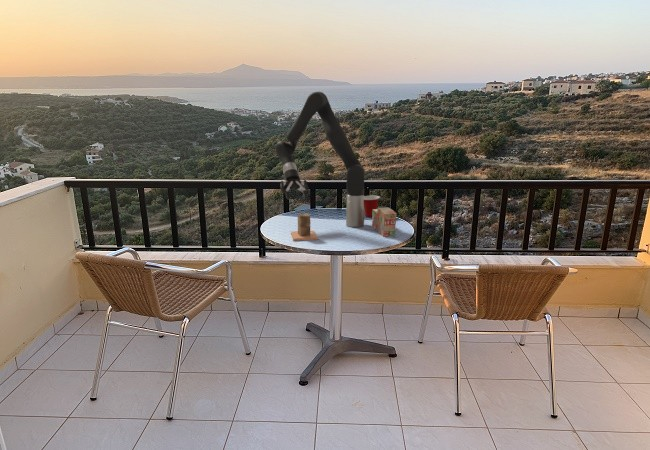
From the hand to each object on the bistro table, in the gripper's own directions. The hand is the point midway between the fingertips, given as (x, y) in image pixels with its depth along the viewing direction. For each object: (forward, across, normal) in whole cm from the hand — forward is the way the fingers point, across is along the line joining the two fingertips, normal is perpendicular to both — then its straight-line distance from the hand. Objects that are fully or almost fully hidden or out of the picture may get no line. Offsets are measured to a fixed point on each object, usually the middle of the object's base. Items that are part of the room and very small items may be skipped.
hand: (297, 198), depth 205 cm
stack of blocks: (+23, +42, +2) cm, 48 cm away
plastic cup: (+2, +49, +23) cm, 55 cm away
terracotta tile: (+20, 0, +4) cm, 21 cm away
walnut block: (+20, 0, +3) cm, 20 cm away
